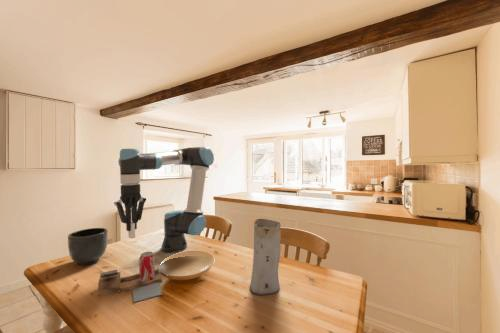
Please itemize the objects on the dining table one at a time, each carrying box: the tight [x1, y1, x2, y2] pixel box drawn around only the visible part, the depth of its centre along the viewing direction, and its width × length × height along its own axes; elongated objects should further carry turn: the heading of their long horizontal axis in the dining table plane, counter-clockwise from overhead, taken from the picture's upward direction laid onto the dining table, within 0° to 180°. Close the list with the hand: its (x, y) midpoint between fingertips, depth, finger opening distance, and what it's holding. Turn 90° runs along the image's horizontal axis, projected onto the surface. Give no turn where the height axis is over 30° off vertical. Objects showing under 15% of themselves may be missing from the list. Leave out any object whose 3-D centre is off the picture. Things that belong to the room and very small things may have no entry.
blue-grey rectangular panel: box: [99, 269, 120, 278], centre depth 89 cm, size 7×1×8 cm
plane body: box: [97, 269, 163, 297], centre depth 95 cm, size 24×10×5 cm, turn 120°
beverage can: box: [138, 251, 156, 283], centre depth 99 cm, size 6×6×12 cm
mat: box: [132, 282, 163, 304], centre depth 89 cm, size 10×10×1 cm
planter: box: [67, 227, 108, 266], centre depth 118 cm, size 17×17×16 cm
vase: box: [249, 218, 282, 296], centre depth 92 cm, size 13×14×28 cm
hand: (131, 237), depth 95 cm, fingers closed
